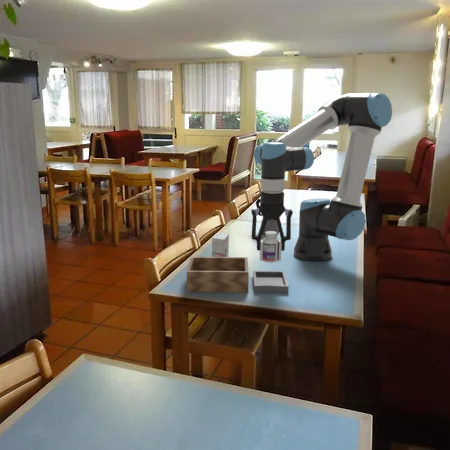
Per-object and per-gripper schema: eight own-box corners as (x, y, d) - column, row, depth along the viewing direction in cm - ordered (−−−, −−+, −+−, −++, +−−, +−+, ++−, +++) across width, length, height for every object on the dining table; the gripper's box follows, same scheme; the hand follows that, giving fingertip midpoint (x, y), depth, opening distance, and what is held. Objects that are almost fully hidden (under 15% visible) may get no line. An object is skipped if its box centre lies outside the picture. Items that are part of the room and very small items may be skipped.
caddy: (247, 275, 164) (247, 257, 162) (248, 292, 149) (248, 272, 148) (191, 275, 164) (191, 256, 163) (186, 291, 150) (186, 271, 148)
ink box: (224, 269, 170) (224, 239, 167) (211, 268, 171) (211, 238, 168) (228, 262, 178) (229, 232, 175) (216, 261, 179) (216, 232, 176)
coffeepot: (286, 233, 218) (287, 196, 213) (273, 237, 211) (274, 199, 207) (261, 227, 228) (262, 192, 224) (249, 231, 222) (249, 194, 217)
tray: (284, 277, 163) (284, 271, 162) (288, 292, 149) (288, 286, 148) (252, 277, 163) (253, 270, 162) (254, 292, 149) (254, 285, 149)
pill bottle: (269, 256, 157) (270, 229, 155) (281, 260, 154) (282, 232, 151) (258, 260, 154) (259, 232, 151) (271, 264, 150) (272, 235, 147)
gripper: (299, 189, 151) (296, 256, 157) (243, 188, 152) (242, 255, 157) (302, 193, 144) (299, 263, 150) (244, 193, 144) (242, 262, 150)
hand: (270, 259), depth 154 cm, fingers closed on pill bottle, 5 cm apart
